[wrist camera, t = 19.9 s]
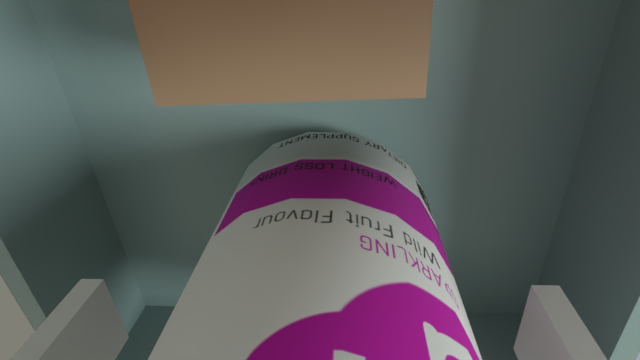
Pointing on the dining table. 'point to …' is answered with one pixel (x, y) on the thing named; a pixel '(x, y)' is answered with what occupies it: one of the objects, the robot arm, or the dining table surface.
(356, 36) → the walnut cube
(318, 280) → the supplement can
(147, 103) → the tote
